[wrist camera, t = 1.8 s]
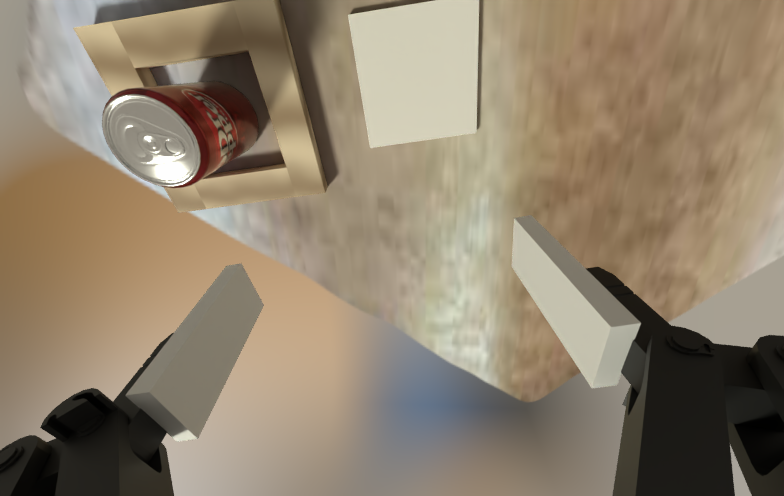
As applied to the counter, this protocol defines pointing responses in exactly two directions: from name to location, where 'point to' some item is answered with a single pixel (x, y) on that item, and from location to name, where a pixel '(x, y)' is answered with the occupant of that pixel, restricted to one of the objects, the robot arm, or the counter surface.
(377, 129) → the tile
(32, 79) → the counter surface
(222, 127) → the soda can
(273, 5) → the well board
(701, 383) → the robot arm
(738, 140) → the counter surface
